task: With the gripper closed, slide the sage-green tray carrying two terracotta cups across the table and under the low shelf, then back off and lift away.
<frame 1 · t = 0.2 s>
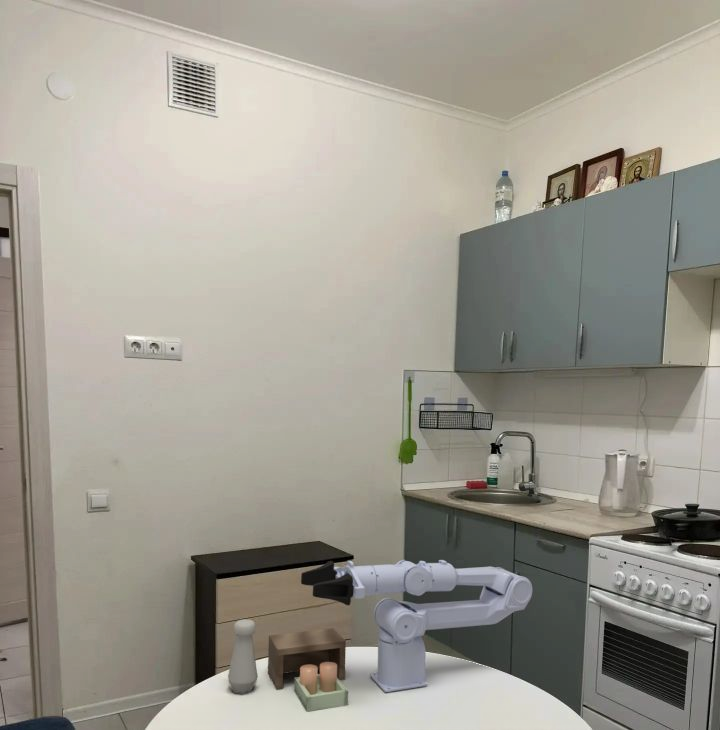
hand: (307, 584, 118), 21 cm above the table, tool horizontal, fingers open, 7 cm apart
shelf: (306, 676, 125), on the table
tray: (320, 697, 116), on the table
salt shaker: (242, 690, 119), on the table
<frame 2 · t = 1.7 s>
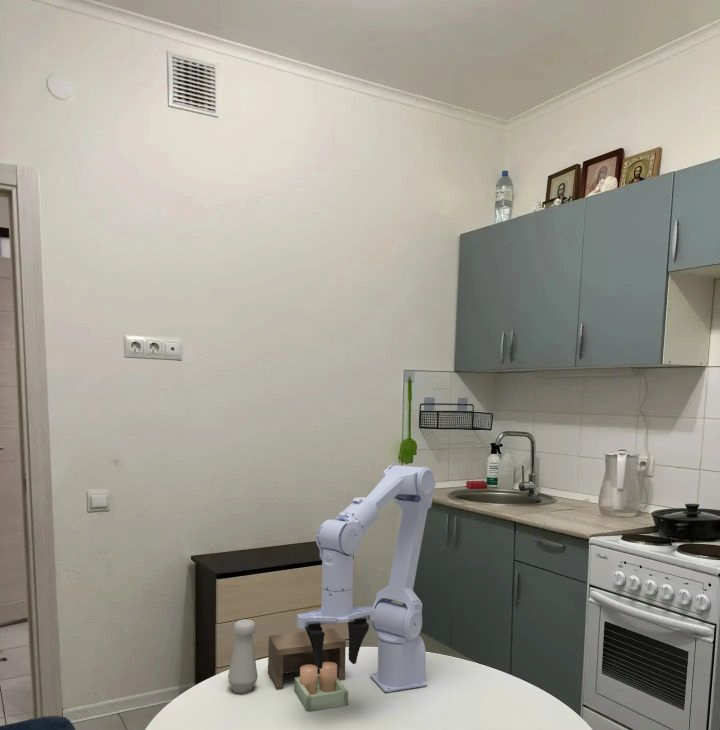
hand: (335, 664, 109), 9 cm above the table, tool pointing down, fingers open, 6 cm apart
nothing on the table moved.
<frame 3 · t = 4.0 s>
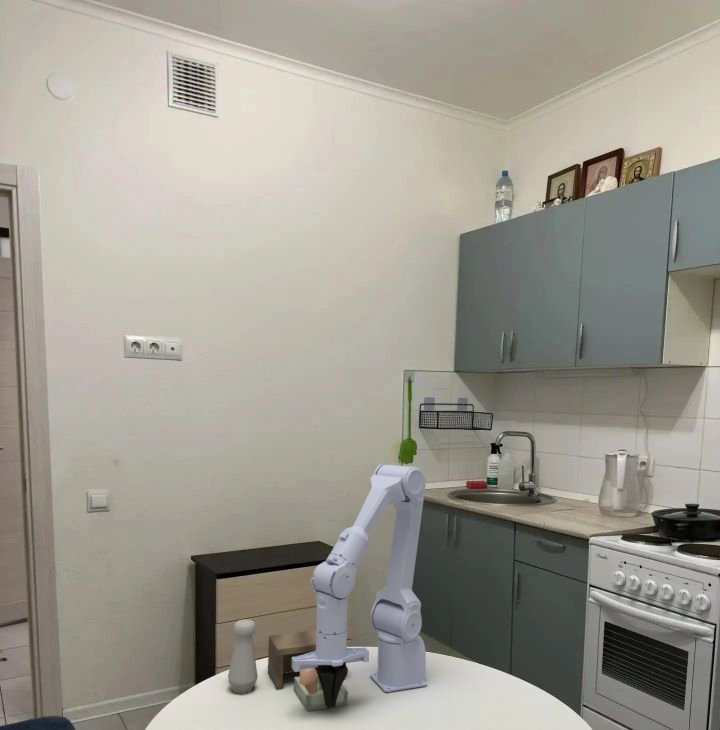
hand: (330, 705, 111), 1 cm above the table, tool pointing down, fingers closed, pressing on tray
tray: (320, 697, 116), on the table, touching gripper
everything else where it was.
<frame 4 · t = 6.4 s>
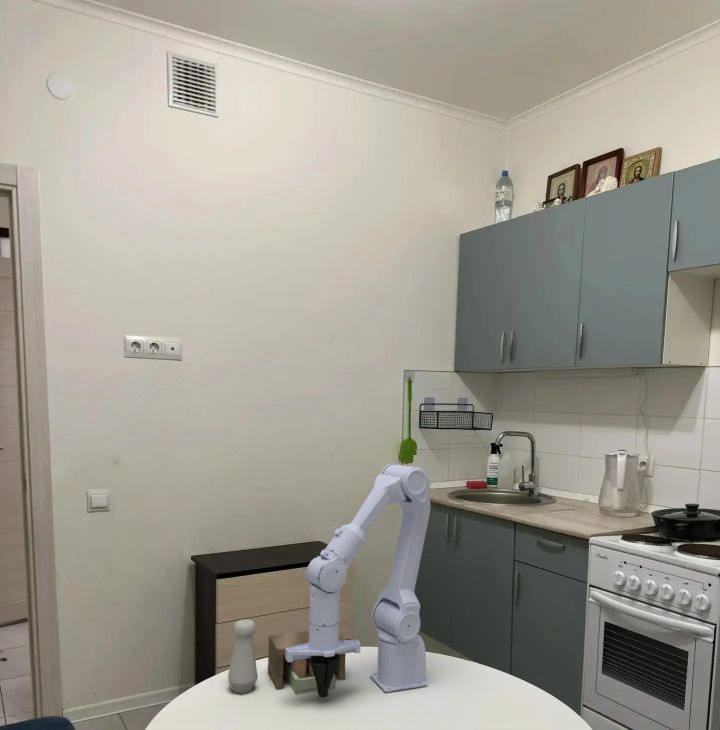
hand: (322, 695, 115), 1 cm above the table, tool pointing down, fingers closed
tray: (309, 681, 123), on the table
everything else where it was.
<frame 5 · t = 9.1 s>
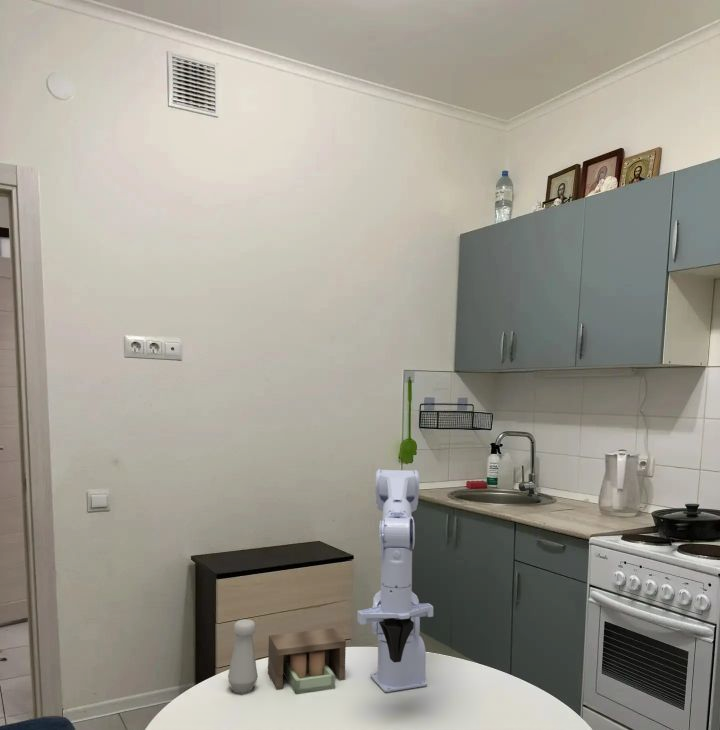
hand: (395, 660, 110), 10 cm above the table, tool pointing down, fingers closed
nothing on the table moved.
at the end: tray inside the target area (0.9 cm from its centre), on the table; tray tilted 0° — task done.
